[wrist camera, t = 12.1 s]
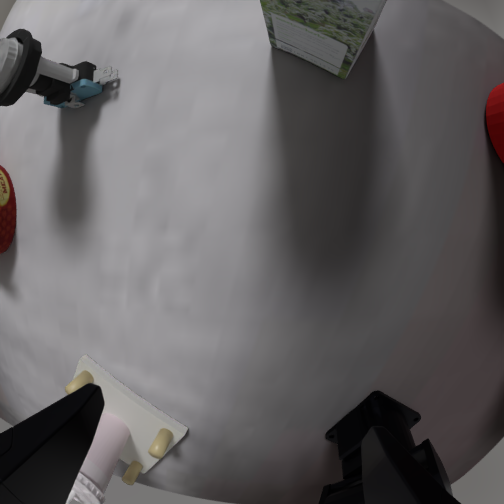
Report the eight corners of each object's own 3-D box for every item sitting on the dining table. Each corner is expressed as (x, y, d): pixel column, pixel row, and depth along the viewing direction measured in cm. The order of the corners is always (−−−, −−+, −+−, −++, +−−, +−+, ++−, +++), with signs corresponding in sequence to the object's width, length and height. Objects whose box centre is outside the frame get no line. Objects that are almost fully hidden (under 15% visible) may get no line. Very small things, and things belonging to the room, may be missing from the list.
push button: (122, 48, 18) (40, -1, 8) (121, 107, 19) (24, 75, 10) (62, 74, 19) (-21, 49, 9) (59, 128, 20) (-33, 118, 11)
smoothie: (129, 453, 26) (74, 541, 12) (83, 418, 26) (15, 497, 12) (151, 432, 24) (87, 539, 11) (98, 392, 24) (15, 485, 11)
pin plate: (188, 427, 25) (174, 456, 21) (146, 468, 28) (134, 491, 24) (85, 353, 25) (61, 374, 21) (66, 410, 28) (48, 428, 24)
